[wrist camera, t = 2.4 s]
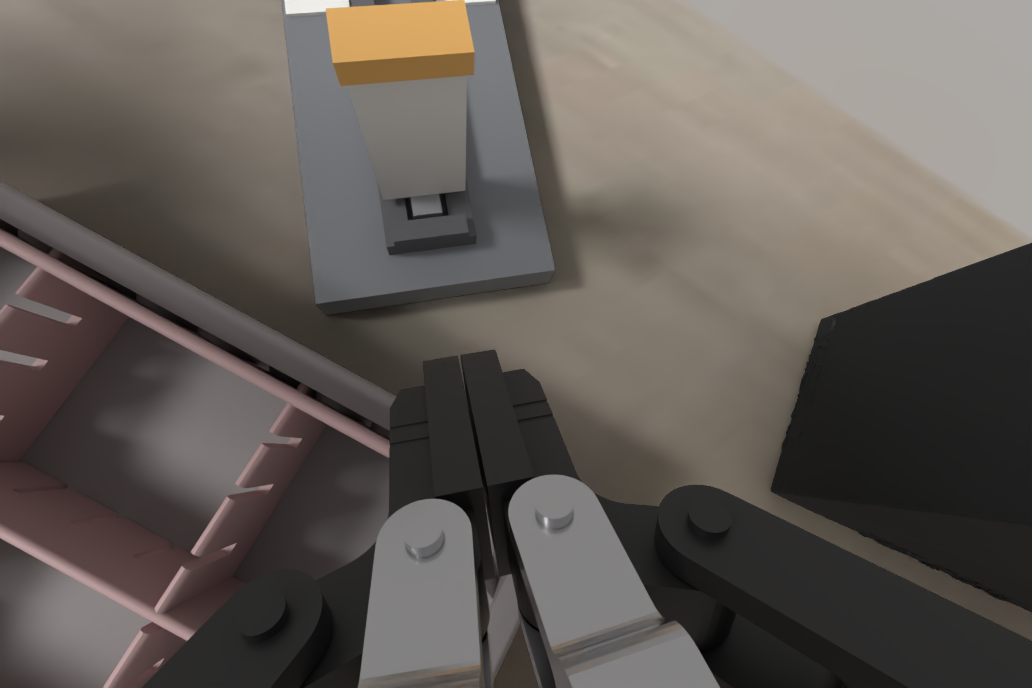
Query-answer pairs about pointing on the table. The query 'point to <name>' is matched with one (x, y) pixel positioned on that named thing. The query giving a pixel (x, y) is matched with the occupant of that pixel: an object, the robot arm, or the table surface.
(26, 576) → the organizer tray
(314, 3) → the grey slider track base
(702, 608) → the robot arm
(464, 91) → the fader tab
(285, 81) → the table surface
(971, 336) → the black drawer cabinet
